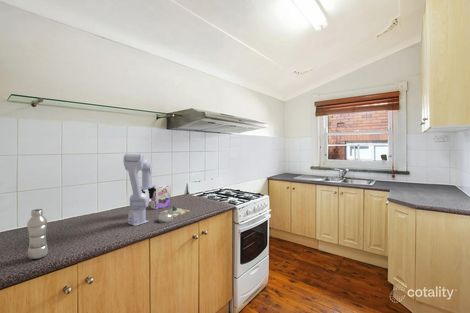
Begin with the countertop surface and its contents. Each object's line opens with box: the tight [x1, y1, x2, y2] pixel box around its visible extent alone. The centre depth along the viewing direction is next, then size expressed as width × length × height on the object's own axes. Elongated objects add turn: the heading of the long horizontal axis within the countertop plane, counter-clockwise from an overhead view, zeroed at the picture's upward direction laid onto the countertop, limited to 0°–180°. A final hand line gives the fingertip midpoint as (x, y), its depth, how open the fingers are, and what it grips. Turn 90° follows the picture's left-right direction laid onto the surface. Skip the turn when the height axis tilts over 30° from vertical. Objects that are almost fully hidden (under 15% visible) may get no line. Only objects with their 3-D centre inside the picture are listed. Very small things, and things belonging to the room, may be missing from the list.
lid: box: [167, 205, 182, 214], centre depth 159 cm, size 10×10×4 cm
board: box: [158, 207, 191, 218], centre depth 159 cm, size 16×14×1 cm
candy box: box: [150, 184, 171, 211], centre depth 173 cm, size 14×6×16 cm, turn 143°
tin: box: [158, 212, 174, 224], centre depth 143 cm, size 9×9×4 cm
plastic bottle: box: [26, 208, 49, 260], centre depth 94 cm, size 6×7×20 cm
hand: (146, 199), depth 154 cm, fingers open, 7 cm apart
